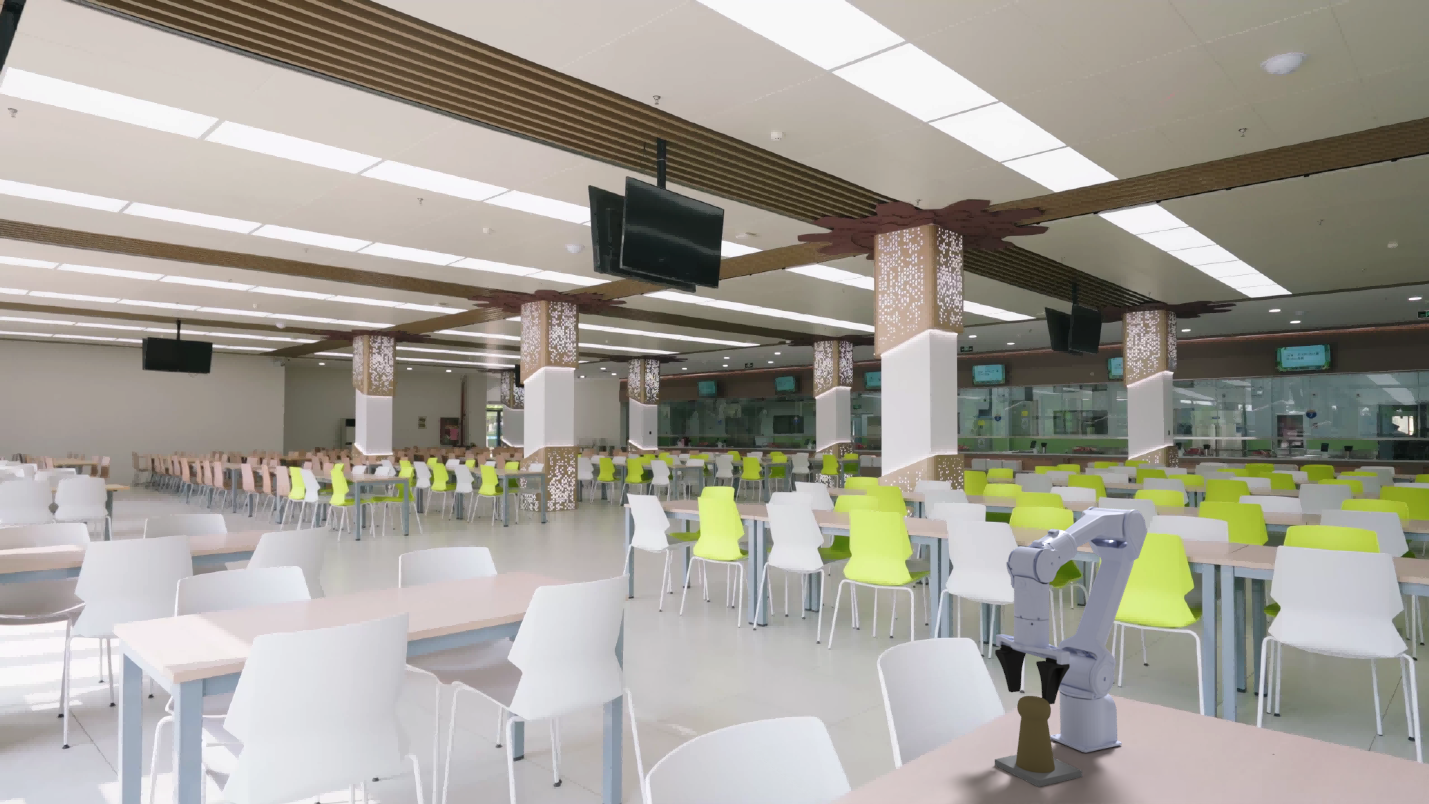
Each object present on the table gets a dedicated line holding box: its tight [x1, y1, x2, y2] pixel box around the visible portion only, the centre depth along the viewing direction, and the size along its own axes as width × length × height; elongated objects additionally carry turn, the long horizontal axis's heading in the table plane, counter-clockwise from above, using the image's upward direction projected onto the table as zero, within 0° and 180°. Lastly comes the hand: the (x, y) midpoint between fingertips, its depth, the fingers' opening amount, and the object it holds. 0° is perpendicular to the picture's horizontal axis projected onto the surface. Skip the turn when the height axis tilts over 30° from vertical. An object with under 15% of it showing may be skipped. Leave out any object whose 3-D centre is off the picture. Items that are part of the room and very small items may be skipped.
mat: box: [994, 754, 1083, 788], centre depth 134 cm, size 10×10×1 cm
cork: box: [1016, 695, 1055, 773], centre depth 134 cm, size 6×6×11 cm
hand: (1031, 697), depth 139 cm, fingers open, 7 cm apart
